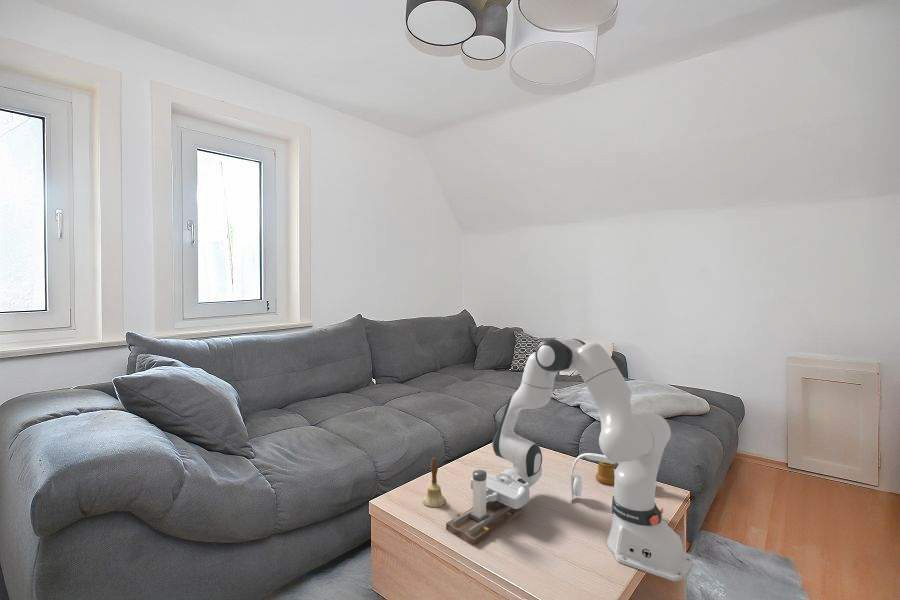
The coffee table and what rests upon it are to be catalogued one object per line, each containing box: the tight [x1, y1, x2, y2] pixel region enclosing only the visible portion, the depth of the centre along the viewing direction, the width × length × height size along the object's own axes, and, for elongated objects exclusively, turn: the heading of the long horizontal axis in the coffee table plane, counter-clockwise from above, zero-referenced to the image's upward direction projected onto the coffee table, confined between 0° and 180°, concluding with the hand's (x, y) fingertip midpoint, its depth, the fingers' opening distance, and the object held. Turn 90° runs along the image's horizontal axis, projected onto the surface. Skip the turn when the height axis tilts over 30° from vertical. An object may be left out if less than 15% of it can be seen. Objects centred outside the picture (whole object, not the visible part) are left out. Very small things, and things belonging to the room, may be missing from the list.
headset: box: [570, 452, 619, 504], centre depth 152 cm, size 20×7×18 cm, turn 64°
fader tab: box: [470, 469, 489, 522], centre depth 140 cm, size 5×4×15 cm
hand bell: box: [421, 457, 447, 508], centre depth 154 cm, size 8×8×16 cm
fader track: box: [445, 501, 523, 547], centre depth 142 cm, size 12×24×4 cm, turn 136°
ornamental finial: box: [595, 461, 615, 486], centre depth 169 cm, size 8×8×8 cm
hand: (482, 499), depth 141 cm, fingers closed, pressing on fader tab
